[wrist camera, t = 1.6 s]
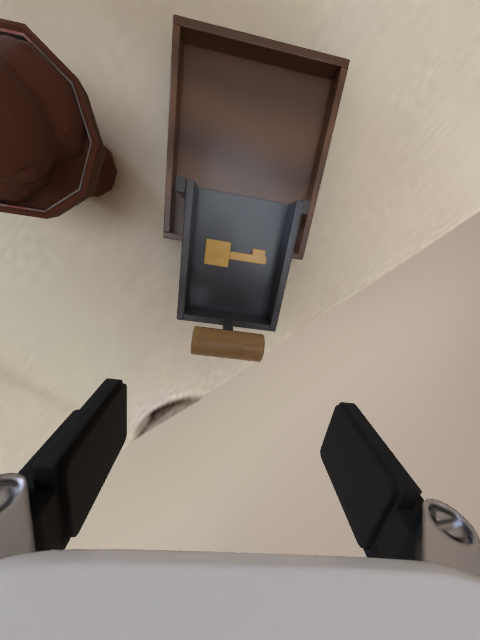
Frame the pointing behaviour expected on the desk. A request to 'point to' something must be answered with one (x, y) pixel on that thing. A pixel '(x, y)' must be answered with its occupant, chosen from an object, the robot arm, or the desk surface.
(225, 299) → the scoop
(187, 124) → the tray
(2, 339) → the desk surface
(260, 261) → the key
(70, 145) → the ice cream bowl
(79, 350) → the desk surface
